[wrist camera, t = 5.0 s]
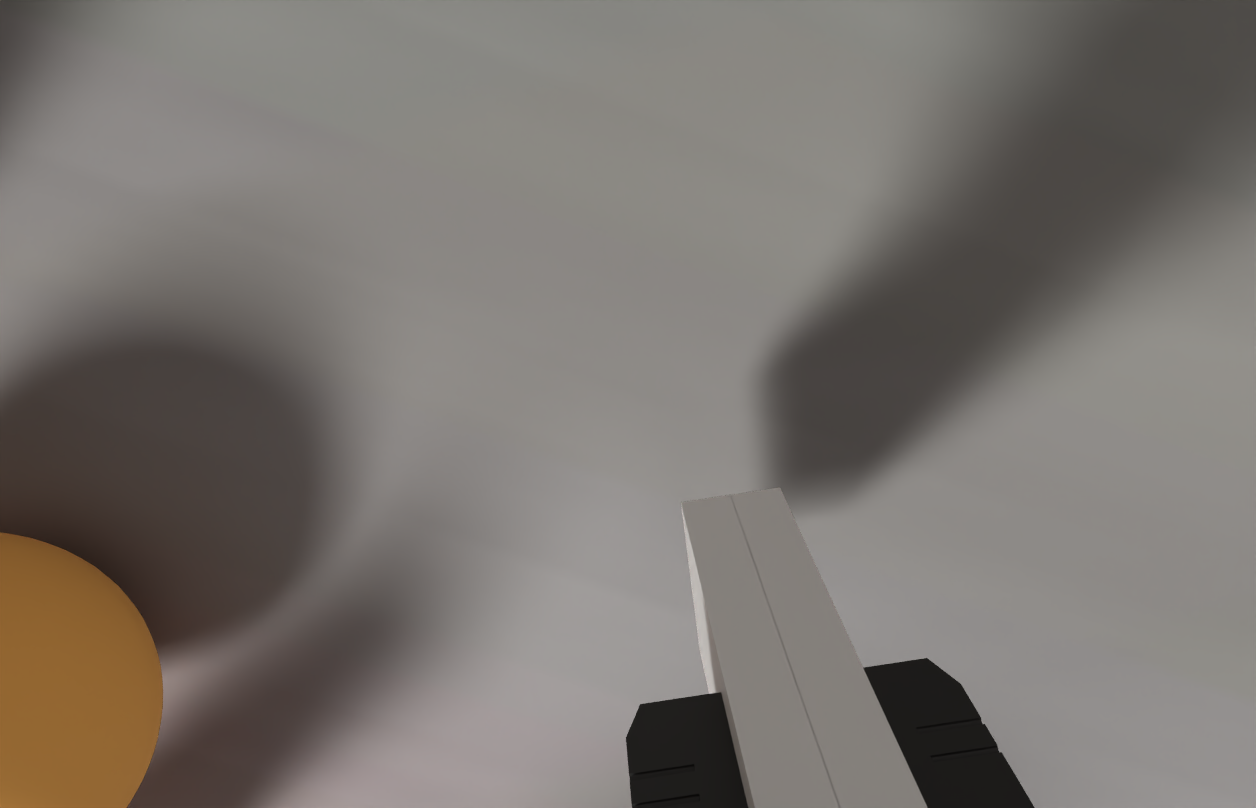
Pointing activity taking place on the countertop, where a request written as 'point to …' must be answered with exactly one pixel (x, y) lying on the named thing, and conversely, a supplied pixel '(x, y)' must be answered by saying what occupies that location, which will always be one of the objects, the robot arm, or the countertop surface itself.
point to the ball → (72, 682)
